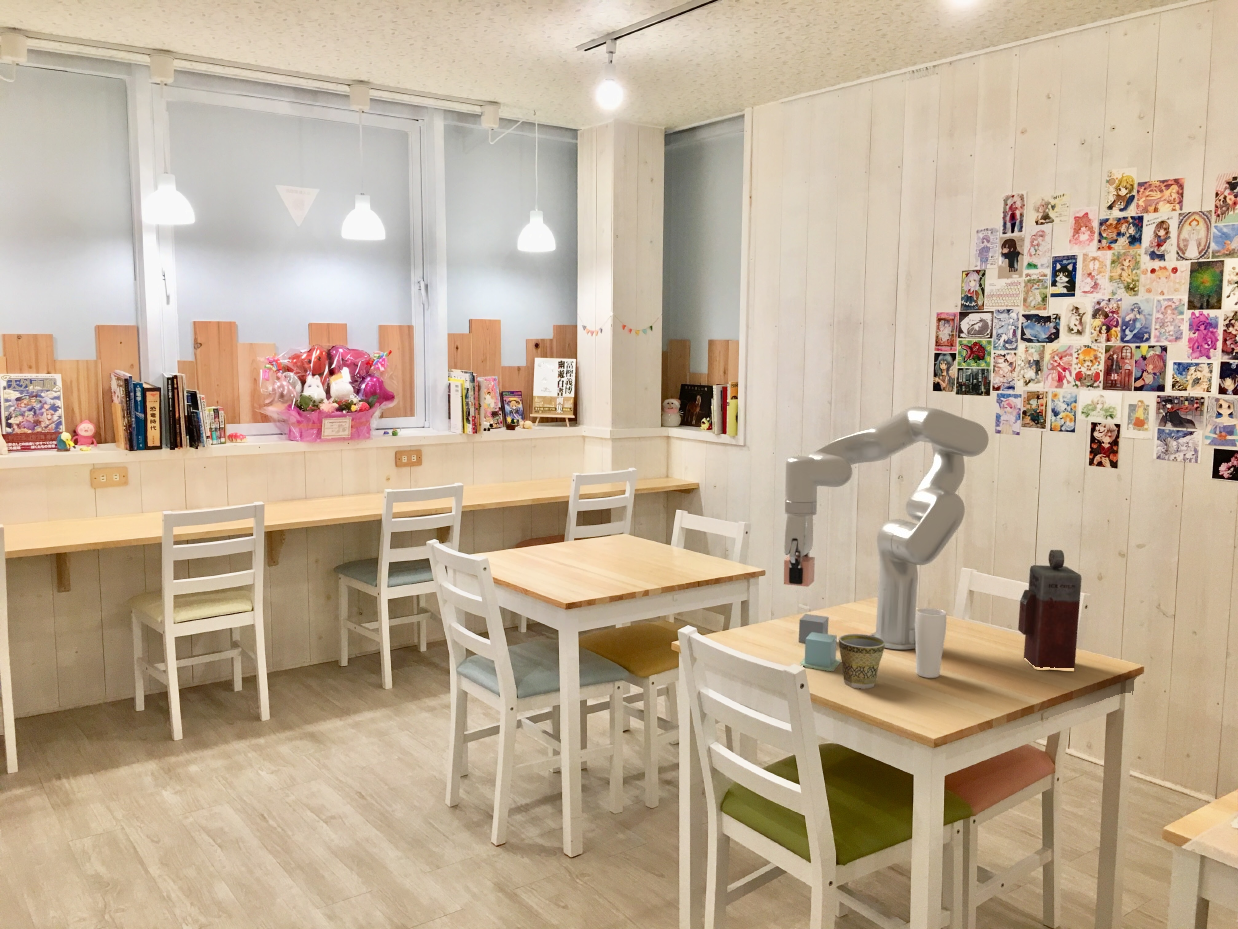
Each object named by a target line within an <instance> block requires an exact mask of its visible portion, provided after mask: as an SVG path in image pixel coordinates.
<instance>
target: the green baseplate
mask: <svg viewBox="0 0 1238 929" xmlns="http://www.w3.org/2000/svg"><path fill="white" fill-rule="evenodd" d="M840 663H842V660H841V658H840V659H839V658H836V660H835V662H834V663H833V664H832V665H831V667H825V666H818V665H812V664H805V657H804V658H803V659H802V660H801V662H799V664H801V665H803V666H805V667H804V668H806V669H812V668H814V669H813V670H819V671H825V670H826V671H827V672H832V671H833V672H835V670H836V669H837V668H838V666H839V665H840ZM826 671H825V672H826Z"/></svg>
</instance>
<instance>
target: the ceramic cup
mask: <svg viewBox="0 0 1238 929" xmlns="http://www.w3.org/2000/svg"><path fill="white" fill-rule="evenodd" d="M870 635H871V634H863V633H852V634H851V633H850V634H849V633H848V634H843V635H841V636H839V638H838V646H839V654H840V659H841V667H842V675H843V682H844V685H846V686H849V687H850V688H852V687H853V688H854V689H859V688H861V689H860V690H867V689H873V688H874V687H875V684H876V681H877V674H878V670H879V668H880V667H879V666H880V663H881V659H882V658H883V655H884V651H885V648H884V646H885V642H884V641H883V640H882V639H880V638H878V637H874V636H870Z"/></svg>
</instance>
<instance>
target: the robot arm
mask: <svg viewBox="0 0 1238 929" xmlns="http://www.w3.org/2000/svg"><path fill="white" fill-rule="evenodd" d="M989 440H990V439H989V433H988V431H987V430H986V428H985V426H983V425H982V424H980V423H978V422H975V421H972V420H970V419H967V418H964V417H961V416H959V415H956V414H953V413H950V412H947V411H944V410H942V409H939V408H933V407H927V406H910V407H908V408H906V409H904V410H902V411H900V412H898V413H897V414H896V413H895V415H892V416H891V417H889V418H887V419H885V420H884V421H881V422H880V423H878V424H876V425H874V426H872V427H870V428H868V429H866V430H862V431H858V432H855V433H853V434H851V435H846V436H844V437H841V438H838V439H836V440H833V441H831V442H828V443H827V444H824V445H823V446H821V447H819V448H818V449H816V450H814V451H812V452H811V453H810V454H808V455H807V456H804V455H803V456H802V455H798V456H791V457H788V458H787V459H786V462H785V484H784V485H785V489H784V490H785V491H784V492H785V494H784V495H785V496H784V498H785V501H784V514H785V515H786V523H785V532H784V545H783V546H784V547H783V548H784V550H783V553H784V554H785V555H786V556H788V555H789V556H788V557H789V558H790V560H789V561H790V563H789V583H791V584H802V583H803V568H801V567H802V558H803V556H807V557H811V556H810V551H812V550H813V547H814V546H813V545H814V544H813V542H814V516H816V515H817V509H818V508H817V507H818V506H817V505H818V502H817V501H818V498H817V497H818V487H828V488H840V487H843V486H844V485H846V484H847V483H849V481H850V480H851V478H852V476H853V468H852V466H853V465H856V464H864V463H875V462H880V461H885V460H887V459H889V458H892V457H893V456H894V455H896V454H898V453H900V452H901V451H904V450H905V449H907V448H909V447H911V446H913V445H914V444H917V443H919V442H923V443H929V444H931V447H932V457H933V458H932V461H931V465H930V467H929V469H928V470H927V472H926V473H925V475H924V476H923V478H922V479H921V480H920V482H919V483H918V484H917V486H916V487H915V488H914V490H913V491H912V492H911V493H910V495H909V497H908V499H907V500H906V503H905V511H906V514H907V516H909V517H910V518H911V519H912V520H913V521H915V522H918V523H914V522H911V521H908V520H905V519H898V518H893V519H890V520H887V521H885V522H884V523H883V524H882V525H881V526H880V528H879V529H878V532H877V536H876V548H877V555H878V584H877V585H878V586H877V604H876V625H875V632H872V633H871V634H869V635H870V636H874V637H878V638H880V639H882V640H883V641H884V642H885V646H884V649H889V650H900V651H901V650H905V651H906V650H913V649H916V643H915V619H916V610H917V598H918V597H917V596H918V585H919V572H918V566H925V565H928V564H930V563H932V562H933V561H934V560H935V559H937V558H938V556H940V554H941V552H943V550H944V549H945V547H946V545H948V543H949V541H950V540H952V537H953V536H954V535H955V533H956V532H957V530H958V529H959V527H960V526H961V524H962V522H963V520H964V517H965V512H966V508H965V507H966V506H965V503H964V501H963V499H962V497H961V496H960V495H958V494H957V491H958V490H959V488H960V486H961V485H962V483H963V480H964V478H965V473H966V471H965V470H966V469H965V468H966V467H965V458H964V457H967V458H968V457H970V458H973V457H977V456H979V455H981V454H983V452H985V451H986V449H987V447H988V445H989ZM797 558H799V562H798V559H797Z"/></svg>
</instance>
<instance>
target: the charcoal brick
mask: <svg viewBox="0 0 1238 929" xmlns="http://www.w3.org/2000/svg"><path fill="white" fill-rule="evenodd" d="M798 623H799V625H798V643H801V642H802V644H805V641H806V638H807V637H808V636H809V634H810V633H811V632H815V633H822V634H829V616H824V615H817V614H809V613H805V614H804V615H803V616H802V617H801V618H800V619H799V621H798Z"/></svg>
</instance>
